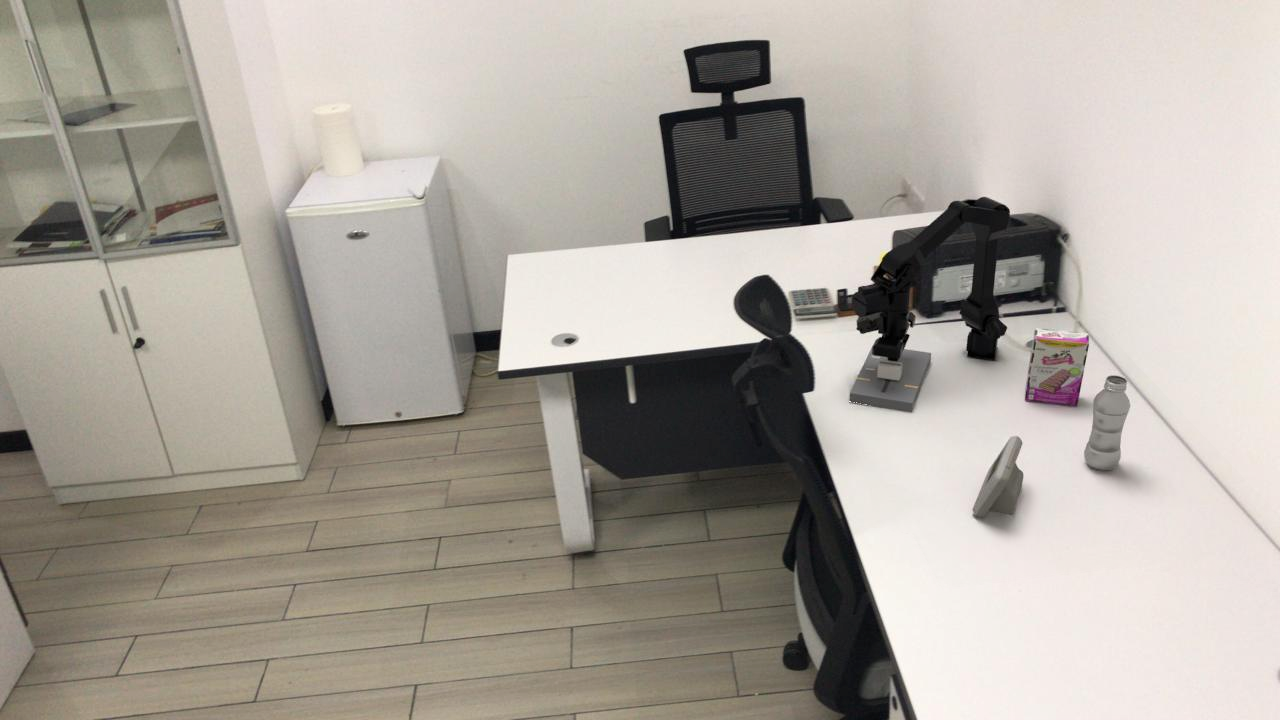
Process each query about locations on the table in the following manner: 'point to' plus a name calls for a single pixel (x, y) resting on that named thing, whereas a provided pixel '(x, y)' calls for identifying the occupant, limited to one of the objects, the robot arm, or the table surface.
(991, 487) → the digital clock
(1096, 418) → the plastic bottle
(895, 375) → the fader knob
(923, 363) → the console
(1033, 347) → the candy bar box
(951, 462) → the table surface
